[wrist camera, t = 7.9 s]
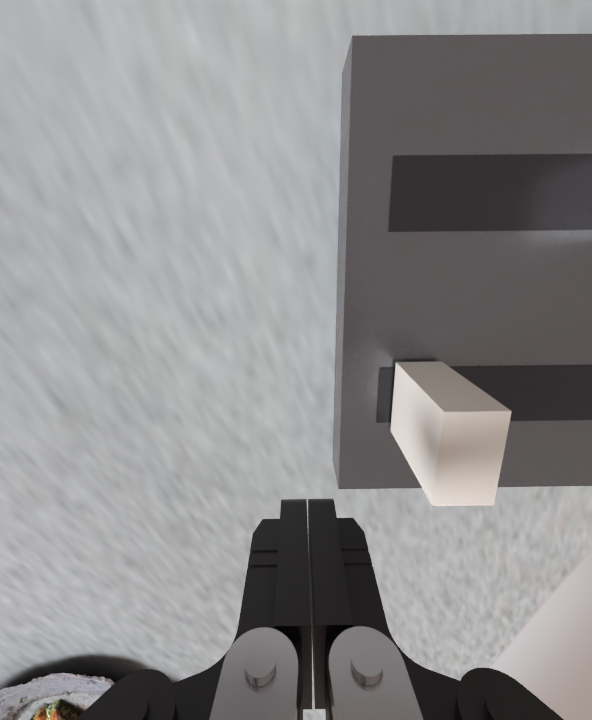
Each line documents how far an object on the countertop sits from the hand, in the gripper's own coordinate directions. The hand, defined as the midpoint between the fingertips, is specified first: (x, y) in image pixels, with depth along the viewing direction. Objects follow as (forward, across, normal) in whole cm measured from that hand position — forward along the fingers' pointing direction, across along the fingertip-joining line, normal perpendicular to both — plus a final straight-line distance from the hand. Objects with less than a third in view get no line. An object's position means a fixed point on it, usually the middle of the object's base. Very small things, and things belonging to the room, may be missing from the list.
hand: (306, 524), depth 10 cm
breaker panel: (+12, -11, -5) cm, 17 cm away
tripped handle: (+9, -6, 0) cm, 11 cm away
